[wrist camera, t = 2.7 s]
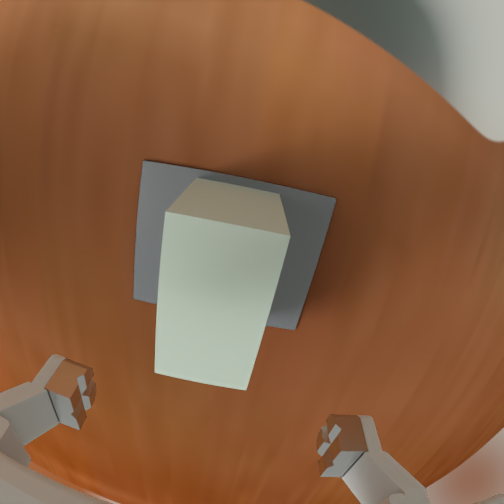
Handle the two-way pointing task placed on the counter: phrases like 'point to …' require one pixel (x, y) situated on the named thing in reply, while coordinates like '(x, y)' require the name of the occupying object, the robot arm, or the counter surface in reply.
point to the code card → (293, 200)
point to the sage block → (217, 281)
